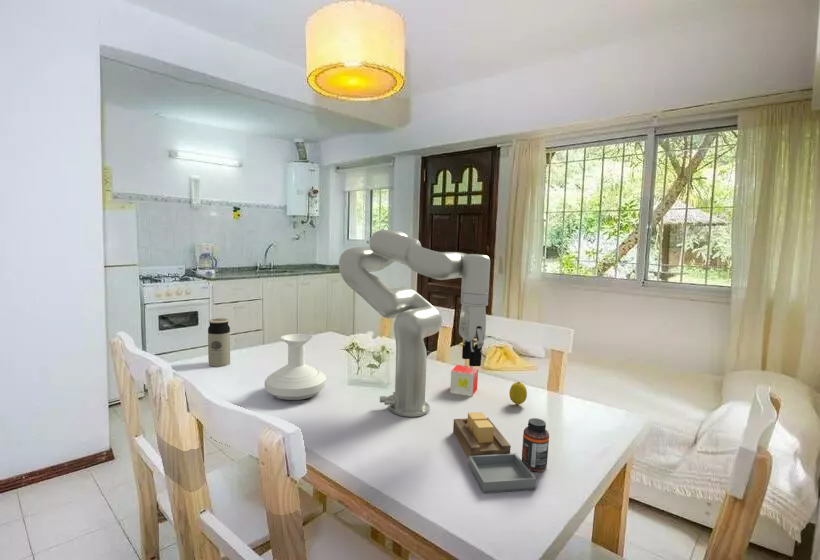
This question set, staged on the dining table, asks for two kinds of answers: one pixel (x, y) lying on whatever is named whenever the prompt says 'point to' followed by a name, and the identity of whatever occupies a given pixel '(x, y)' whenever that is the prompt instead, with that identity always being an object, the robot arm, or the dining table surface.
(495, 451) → the slot block
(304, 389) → the white vase
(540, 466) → the supplement bottle
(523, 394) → the lemon
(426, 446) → the dining table surface
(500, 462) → the tray
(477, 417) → the yellow cube
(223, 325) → the travel mug
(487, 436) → the yellow wooden cube
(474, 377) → the red patterned box
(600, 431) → the dining table surface
